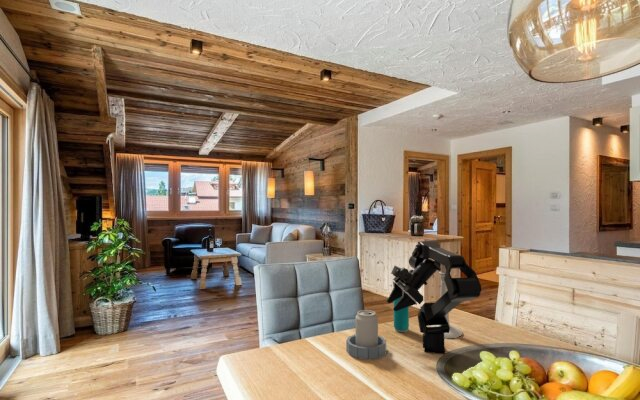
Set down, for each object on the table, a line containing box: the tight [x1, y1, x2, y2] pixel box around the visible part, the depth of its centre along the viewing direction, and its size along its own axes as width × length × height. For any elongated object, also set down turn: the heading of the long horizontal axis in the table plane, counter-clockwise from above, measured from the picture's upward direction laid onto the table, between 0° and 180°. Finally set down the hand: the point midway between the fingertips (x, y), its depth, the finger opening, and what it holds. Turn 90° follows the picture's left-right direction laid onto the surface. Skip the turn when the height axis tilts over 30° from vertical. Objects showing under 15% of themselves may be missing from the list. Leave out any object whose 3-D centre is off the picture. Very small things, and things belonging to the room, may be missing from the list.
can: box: [354, 309, 379, 347], centre depth 118 cm, size 8×8×12 cm
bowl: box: [345, 333, 387, 361], centre depth 118 cm, size 13×13×4 cm
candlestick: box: [428, 264, 463, 339], centre depth 135 cm, size 13×13×30 cm
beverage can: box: [393, 292, 410, 333], centre depth 138 cm, size 6×6×15 cm
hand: (390, 306), depth 123 cm, fingers open, 9 cm apart
